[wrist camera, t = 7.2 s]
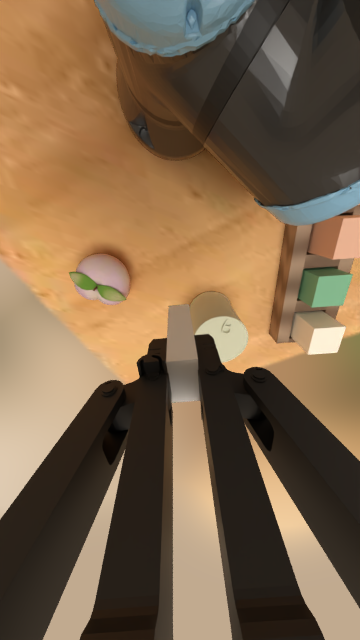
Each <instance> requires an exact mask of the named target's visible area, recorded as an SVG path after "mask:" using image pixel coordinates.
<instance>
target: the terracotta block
mask: <svg viewBox="0 0 360 640" xmlns="http://www.w3.org/2000/svg"><path fill="white" fill-rule="evenodd" d="M307 252H309V253H312V254H316V255H319V256H322V257H326V258H329V259H332V260H334V259H349V258H360V215H339V216H334V217H332V218H330V219H327V220H324V221H321V222H318V223H314V224H312V229H311V234H310V239H309V244H308V249H307Z"/></svg>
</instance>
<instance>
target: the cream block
mask: <svg viewBox="0 0 360 640" xmlns="http://www.w3.org/2000/svg"><path fill="white" fill-rule="evenodd" d="M345 328H346V326H344V325H343V324H341V323H340V322H338V321H337V320H335V319H334V318H332V317H331V316H329V315H328V314H326V313H325V312H323V311H322V310H317V311H302V312H294V317H293V322H292V327H291V331H290V336H291V337H292V339H293V340H294V341H295V342H296V343H297V344H298V345H299V346H300V347H301V348H302V349H303V350H304V351H305V352H306V353H307V354H321V353H322V354H323V353H336V352H338V349H339V346H340V343H341V340H342V337H343V334H344V331H345Z"/></svg>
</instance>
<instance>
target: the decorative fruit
mask: <svg viewBox="0 0 360 640" xmlns="http://www.w3.org/2000/svg"><path fill="white" fill-rule="evenodd" d="M69 274H70V277H71V279H72V280H73V282H74V284H75V288H76V290H77V291H78V293H79V294H80V295H81V296H83V297H84V298H86V299H89V300H97V299H98V300H100V301H101V302H102V303H104V304H107V305H116V304H119V303H121V302H122V301H124V300H126V297H127V296H128V294H129V291H130V277H129V273H128V271H127V269H126V267H125V266H124V264H123V263H122V262H121V261H120V260H118V259H117V258H115V257H113V256H111V255H108V254H93V255H90V256H87V257H86V258H84V259H83V260H82V261H81V262H80V263H79V265H78V267H77V269H76V272H69Z"/></svg>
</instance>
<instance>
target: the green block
mask: <svg viewBox="0 0 360 640" xmlns="http://www.w3.org/2000/svg"><path fill="white" fill-rule="evenodd" d="M352 275H353V274H350V273H347V272H344V271H341V270H339V269H336V268H333V267H318V268H304V269H303V273H302V278H301V283H300V288H299V292H298V297H297V298H299V299H300V300H301V301H303V302H304V303H306V304H307V305H309V306H310V307H326V306H340V305H343V303H344V300H345V297H346V294H347V291H348V288H349V285H350V281H351V278H352Z"/></svg>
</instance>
